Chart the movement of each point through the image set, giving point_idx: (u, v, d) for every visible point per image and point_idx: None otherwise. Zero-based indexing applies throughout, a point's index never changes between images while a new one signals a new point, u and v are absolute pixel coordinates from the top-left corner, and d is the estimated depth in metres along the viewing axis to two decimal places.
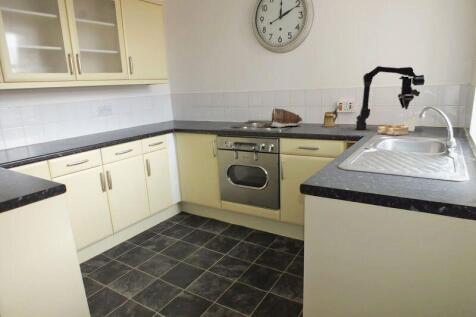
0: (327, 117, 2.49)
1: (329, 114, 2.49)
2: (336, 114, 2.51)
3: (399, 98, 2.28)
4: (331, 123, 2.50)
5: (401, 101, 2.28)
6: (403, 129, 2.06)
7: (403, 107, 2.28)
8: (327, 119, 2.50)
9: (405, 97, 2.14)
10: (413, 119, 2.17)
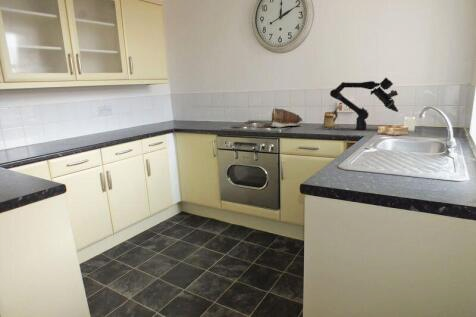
0: (327, 117, 2.49)
1: (329, 114, 2.49)
2: (336, 114, 2.51)
3: None
4: (331, 123, 2.50)
5: None
6: (403, 129, 2.06)
7: (396, 109, 2.26)
8: (327, 119, 2.50)
9: (386, 105, 2.16)
10: (413, 119, 2.17)
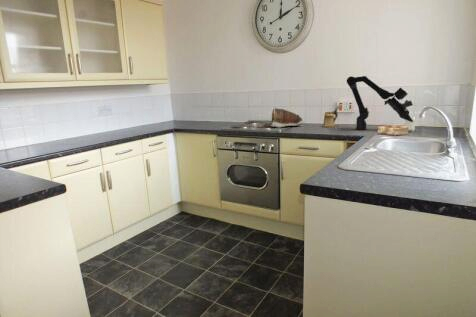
0: (327, 117, 2.49)
1: (329, 114, 2.49)
2: (336, 114, 2.51)
3: None
4: (331, 123, 2.50)
5: None
6: (403, 129, 2.06)
7: None
8: (327, 119, 2.50)
9: (401, 116, 2.13)
10: (413, 119, 2.17)
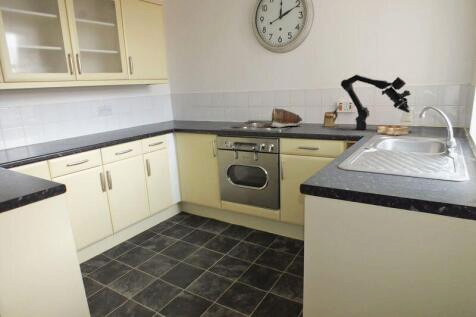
0: (327, 117, 2.49)
1: (329, 114, 2.49)
2: (336, 114, 2.51)
3: None
4: (331, 123, 2.50)
5: None
6: (403, 129, 2.06)
7: None
8: (327, 119, 2.50)
9: (395, 106, 2.09)
10: (410, 110, 2.11)
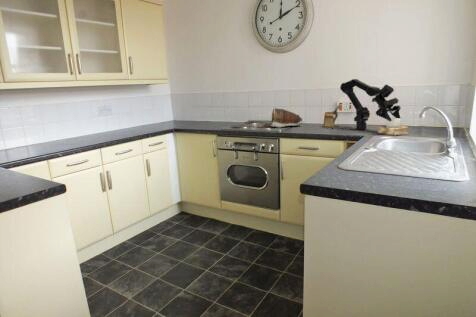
0: (327, 117, 2.49)
1: (329, 114, 2.49)
2: (336, 114, 2.51)
3: None
4: (331, 123, 2.50)
5: (394, 115, 2.14)
6: (403, 129, 2.06)
7: None
8: (327, 119, 2.50)
9: (376, 113, 2.10)
10: (393, 120, 2.07)
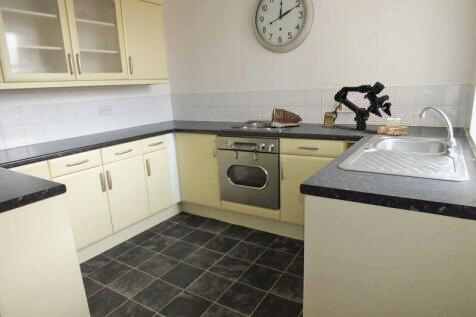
0: (327, 117, 2.49)
1: (329, 114, 2.49)
2: (336, 114, 2.51)
3: None
4: (331, 123, 2.50)
5: (385, 112, 2.20)
6: (403, 129, 2.06)
7: (390, 115, 2.16)
8: (327, 119, 2.50)
9: (368, 110, 2.15)
10: (393, 120, 2.07)
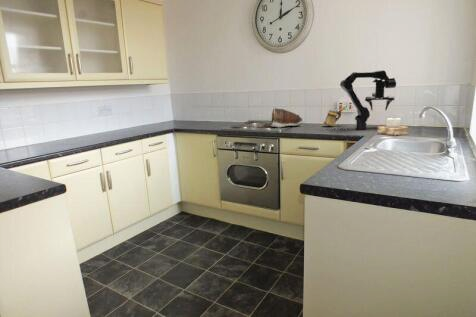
0: (330, 115, 2.48)
1: (333, 113, 2.48)
2: (339, 115, 2.51)
3: (371, 101, 2.29)
4: (333, 122, 2.49)
5: (371, 104, 2.31)
6: (403, 129, 2.06)
7: None
8: (330, 117, 2.49)
9: None
10: (393, 120, 2.07)
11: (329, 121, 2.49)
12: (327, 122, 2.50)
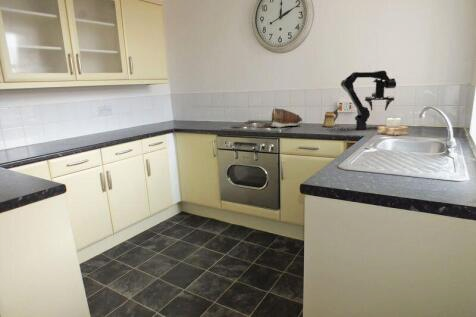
0: (328, 116, 2.49)
1: (330, 113, 2.48)
2: (336, 114, 2.52)
3: None
4: (332, 123, 2.50)
5: (371, 104, 2.31)
6: (403, 129, 2.06)
7: (371, 110, 2.33)
8: (328, 118, 2.49)
9: (393, 99, 2.26)
10: (393, 120, 2.07)
11: (328, 122, 2.49)
12: (327, 124, 2.50)
